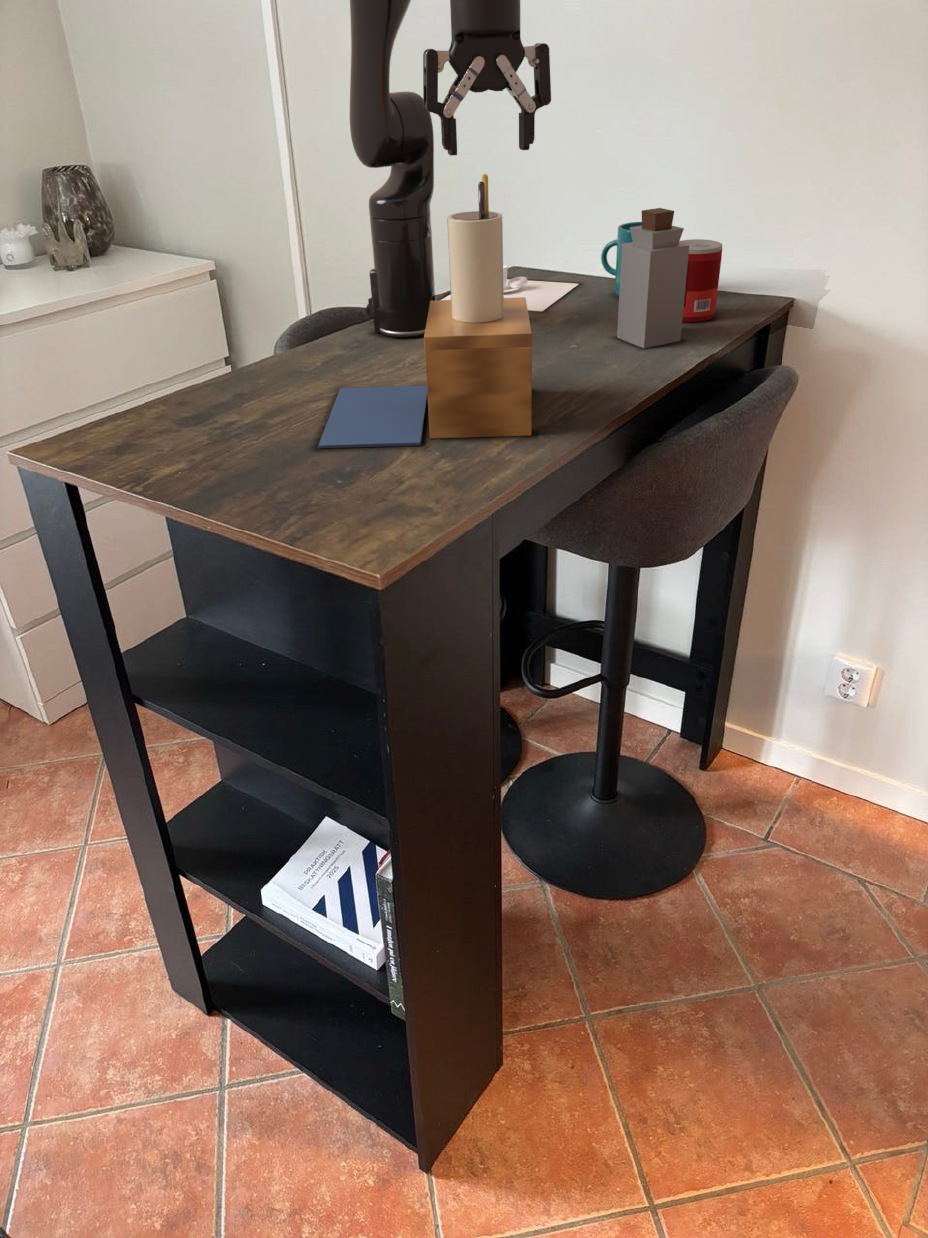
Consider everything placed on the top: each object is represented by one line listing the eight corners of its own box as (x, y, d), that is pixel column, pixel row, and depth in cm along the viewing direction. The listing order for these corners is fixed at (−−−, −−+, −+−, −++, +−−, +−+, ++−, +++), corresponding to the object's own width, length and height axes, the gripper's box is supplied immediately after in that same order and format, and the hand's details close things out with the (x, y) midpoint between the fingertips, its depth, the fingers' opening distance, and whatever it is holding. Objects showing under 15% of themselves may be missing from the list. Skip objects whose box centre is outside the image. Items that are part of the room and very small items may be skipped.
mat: (318, 448, 107) (318, 445, 107) (340, 390, 124) (340, 388, 124) (420, 445, 107) (420, 442, 106) (428, 388, 123) (428, 385, 123)
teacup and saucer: (531, 286, 168) (531, 262, 166) (515, 296, 162) (515, 272, 160) (487, 283, 171) (487, 260, 169) (470, 293, 165) (469, 269, 163)
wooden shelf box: (430, 438, 108) (423, 336, 102) (435, 392, 122) (430, 300, 115) (531, 435, 108) (531, 333, 101) (525, 389, 121) (525, 296, 115)
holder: (443, 321, 107) (436, 178, 99) (462, 307, 112) (457, 170, 103) (493, 324, 105) (491, 179, 97) (510, 310, 110) (509, 171, 101)
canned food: (721, 312, 149) (729, 240, 143) (704, 325, 143) (712, 250, 137) (676, 307, 152) (683, 237, 146) (658, 319, 147) (664, 247, 141)
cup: (608, 285, 167) (611, 219, 161) (673, 290, 162) (678, 222, 156) (591, 297, 160) (593, 228, 154) (657, 303, 155) (663, 232, 149)
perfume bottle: (643, 348, 134) (653, 216, 125) (616, 337, 140) (623, 210, 130) (680, 340, 137) (692, 210, 127) (652, 330, 142) (662, 204, 132)
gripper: (539, -20, 101) (538, 144, 110) (412, -15, 99) (422, 152, 108) (559, -24, 95) (557, 151, 104) (424, -18, 93) (433, 159, 101)
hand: (488, 151), depth 106 cm, fingers open, 8 cm apart
